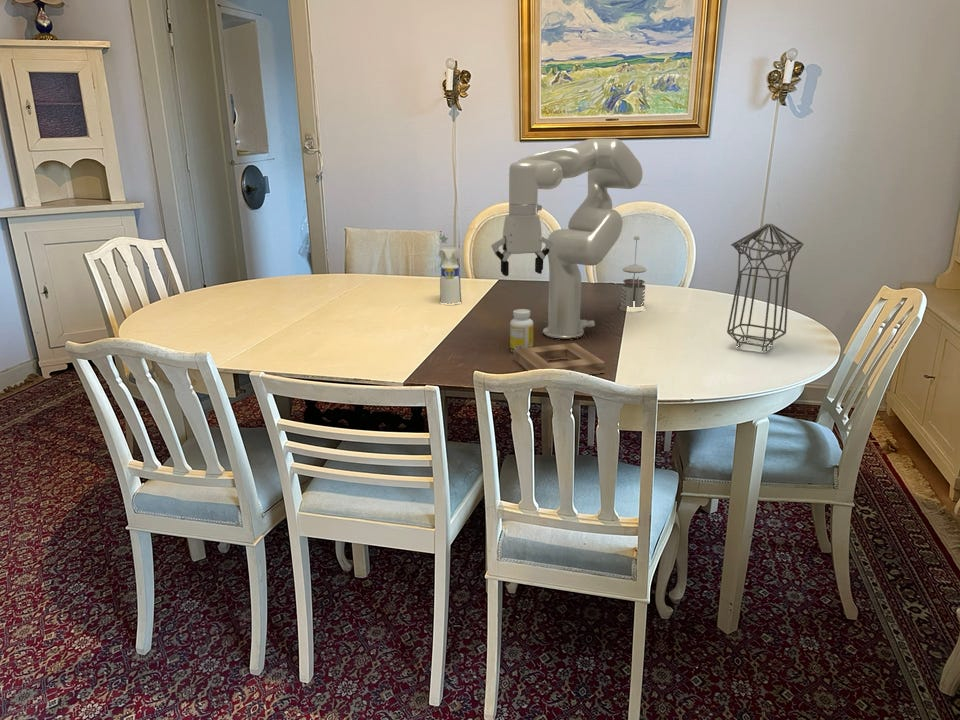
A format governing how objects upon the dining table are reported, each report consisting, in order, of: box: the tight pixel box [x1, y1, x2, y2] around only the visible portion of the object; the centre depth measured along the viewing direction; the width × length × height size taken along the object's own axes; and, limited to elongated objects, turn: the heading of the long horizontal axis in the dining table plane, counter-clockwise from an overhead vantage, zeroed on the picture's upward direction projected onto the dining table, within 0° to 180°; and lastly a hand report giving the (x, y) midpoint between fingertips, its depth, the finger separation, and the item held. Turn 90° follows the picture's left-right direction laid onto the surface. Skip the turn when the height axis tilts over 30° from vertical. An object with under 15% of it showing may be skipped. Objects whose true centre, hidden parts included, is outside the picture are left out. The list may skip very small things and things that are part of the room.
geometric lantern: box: [726, 223, 804, 352], centre depth 198 cm, size 16×16×35 cm
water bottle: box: [437, 234, 464, 304], centre depth 253 cm, size 8×9×25 cm
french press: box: [620, 235, 647, 307], centre depth 242 cm, size 10×12×25 cm
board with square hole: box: [513, 342, 606, 374], centre depth 189 cm, size 18×18×3 cm
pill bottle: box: [509, 308, 534, 353], centre depth 201 cm, size 6×6×12 cm
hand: (521, 274), depth 196 cm, fingers open, 9 cm apart
